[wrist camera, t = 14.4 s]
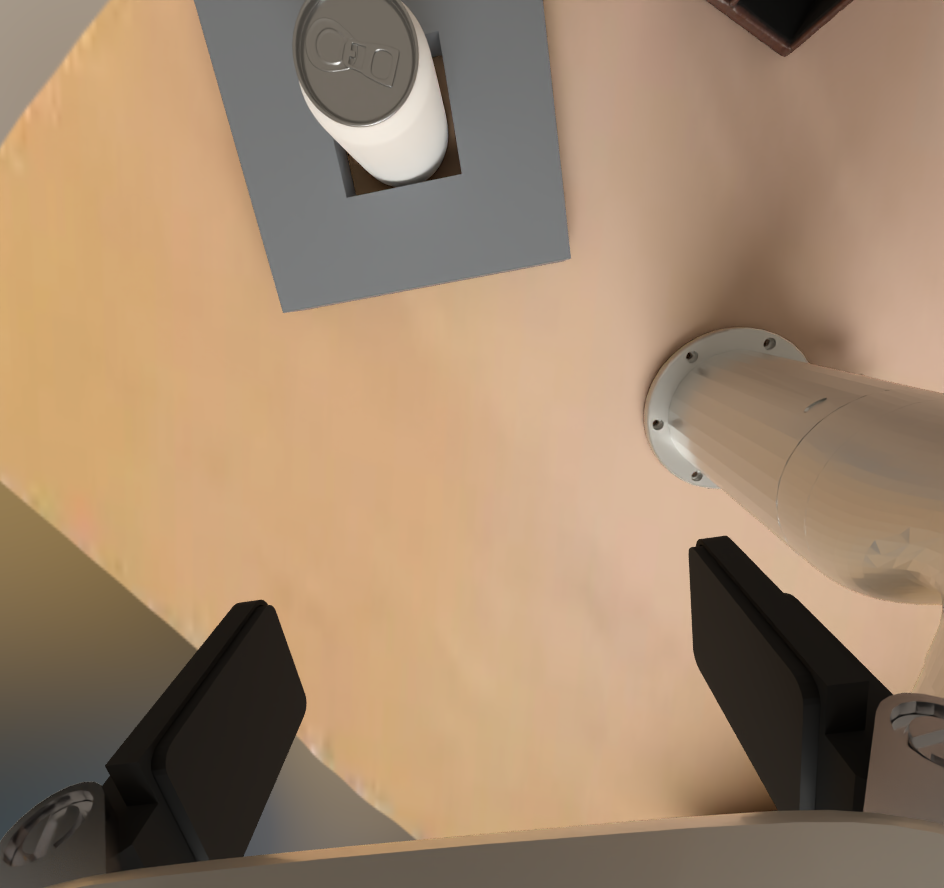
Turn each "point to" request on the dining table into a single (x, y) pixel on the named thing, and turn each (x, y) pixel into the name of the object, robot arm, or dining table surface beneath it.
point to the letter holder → (781, 19)
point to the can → (372, 85)
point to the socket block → (407, 207)
